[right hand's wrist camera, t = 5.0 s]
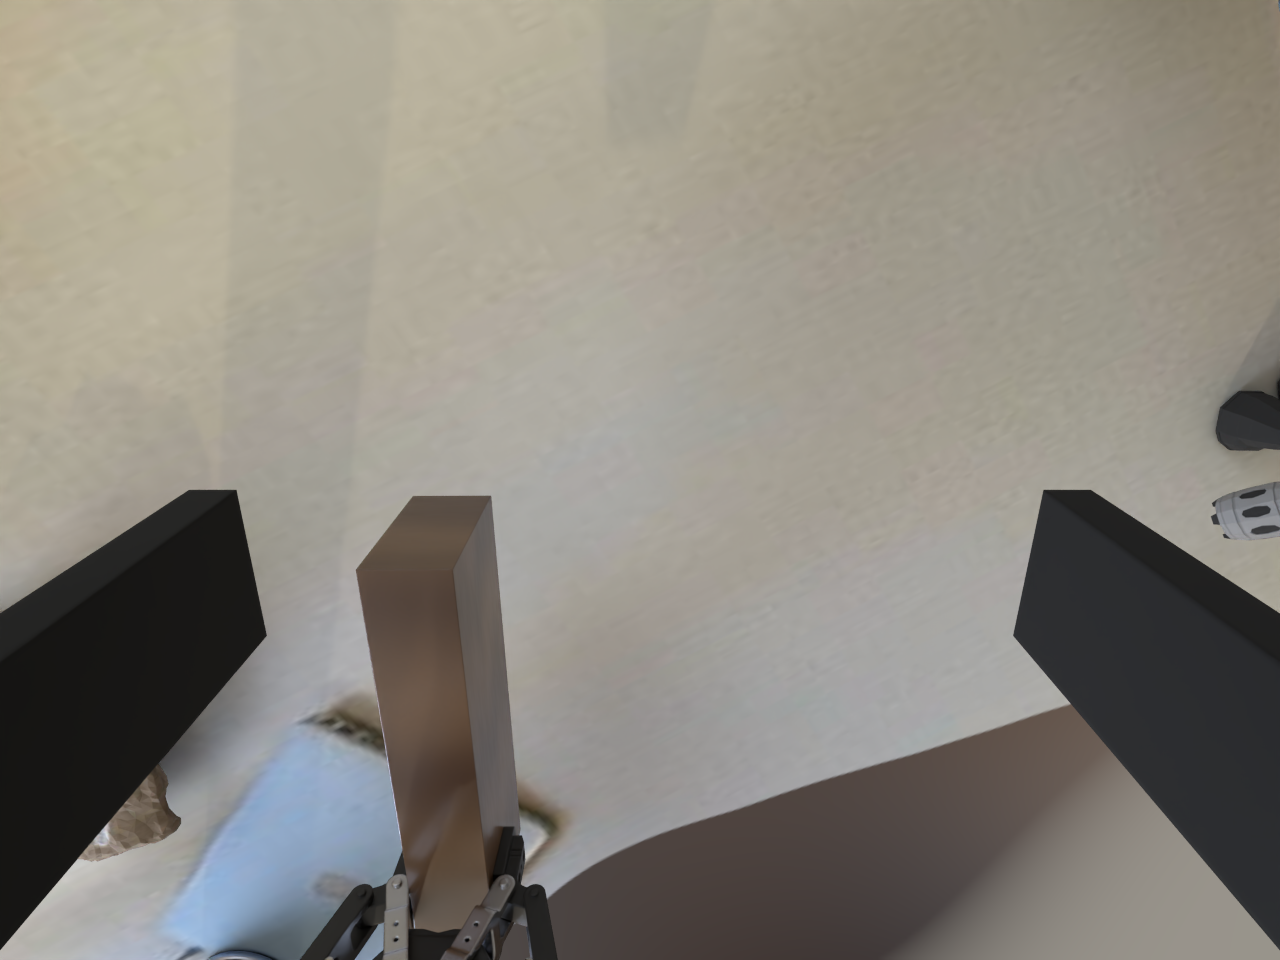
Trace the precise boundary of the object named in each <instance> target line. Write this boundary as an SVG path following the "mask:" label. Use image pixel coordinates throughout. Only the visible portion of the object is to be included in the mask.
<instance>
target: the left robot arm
mask: <svg viewBox="0 0 1280 960" xmlns="http://www.w3.org/2000/svg"><path fill="white" fill-rule="evenodd" d="M524 864H525V850H524V841H523V838H522V835H516V830H515V826H504V828H503V831H502V836H501V840H500V845H499V849H498V853H497V858H496V862H495V866H494V871H493V881H494V883H493V884H492V886H491V888H490V890H489V891H488V893H487V895H486V896H485V898H484V900H483V901H482V903H481V905H480V906H479V905H476V906H475V907H474V908H473V910H472V912H471V913H470V915H469V917H468V918H467V920H466V922H465V923H464V925H463V927H462V929H452V930H447V931H443V932H433V931H430V930H426V929H414V918H413V911H412V905H411V899H410V893H409V887H408V881H407V875H406V869H405V863H404V857H403V851H402V853H401V856H400V858H399V861H398V864H397V866H396V869H395V872H394V874H393V877H391V878H390V879H389V880H388V882H387V883H386V884H384V885H382V886H379V887H376V888H372V887H371V886H370V885H368V884H362V885H359V886H357V887H355V888H354V889H353V890H352V891H351V893H350V894H349V895H348V897H347V898H346V899H345V901H344V902H343V903H342V905H341V906H340V907H339V909H338V910H337V911H336V913H335V914H334V915H333V917H332V918H331V919H330V921H329V922H328V923H327V925H326V926H325V927H324V929H323V930H322V931H321V933H320V934H319V935H318V936H317V938H316V939H315V940H314V942H313V943H312V944H311V946H310V947H309V948H308V950H307V951H306V952H305V954H304V955H303V956H302V958H301V959H300V960H355V958H356V957H357V955H358V954H359V952H360V951H361V949H362V948H363V947H364V945H365V944H366V942H367V941H368V939H369V938H370V936H371V935H372V933H373V932H374V930H375V929H376V928H377V926H378V924H380V923H384V950H383V951H381V952H380V953H379V954H378V955H377V956H376V957H375V958H374V959H373V960H499V958H500V955H501V952H502V946H503V943H504V941H505V939H506V937H507V935H508V933H509V931H510V930H511V928H512V926H513V924H514V922H515V923H518V924H520V925H523V926H526V930H527V937H528V943H529V950H530V957H529V958H526V959H525V960H558V959H557V953H556V948H555V942H554V937H553V931H552V926H551V920H550V915H549V909H548V904H547V898H546V893H545V889H544V888H543V887H542V886H541V885H538V884H533V885H530V886H529V887H524V886H522V885H521V880H522V875H523V869H524ZM208 960H272V959H270V958H268V957H266V956H263V955H260V954H257V953H252V952H246V951H229V952H223V953H220V954H217V955H215V956H213V957H211V958H209V959H208Z"/></svg>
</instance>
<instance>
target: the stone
mask: <svg viewBox="0 0 1280 960" xmlns="http://www.w3.org/2000/svg"><path fill="white" fill-rule="evenodd" d="M167 786H168V780H167V776H166V774H165V773H164V771H163V770H162V768H161V767H160V766H159V764H158V765H157V766H156V767H155V768H154V769H153V770H152V772H151V773H150V774H149V775H148V776H147V778H146V779H145V780H144V781H143V782H142V783H141V785H140V786H139V787H138V788H137V789H136V790H135V792H134V793H133V794H132V795H131V796H130V798H129V799H128V800H127V801H126V802H125V803H124V805H123V806H122V807H121V808H120V809H119V811H118V812H117V813H116V814H115V815H114V816H113V818H112V819H111V820H110V821H109V822H108V824H107V825H106V826H105V827H104V828H103V829H102V831H101V832H100V833H99V834H98V835H97V836H96V838H95V839H94V840H93V841H92V842H91V844H90V845H89V846H88V847H87V848H86V849H85V851H84V852H83V853H82V854H81V855H80V857H79V858H78V859H83V860H88V861H94V860H95V861H100V860H103V859H106V858H109V857H111V856H115V855H119V854H121V853H123V852H125V851H128V850H131V849H134V848H138V847H142V846H144V845H147V844H150V843H156V842H159V841H161V840H163V839H165V838H166V837H168V836H169V835H170V834H172V833H174V832H175V831H176V830H177V829H178V827H179V826H180V824H181V818H180V817H178V816H176V815H175V814H174V813H173V812H172V811H171V810H170V809H169V807H168V804H167V801H166V798H165V795H166V788H167Z"/></svg>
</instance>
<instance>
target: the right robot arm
mask: <svg viewBox="0 0 1280 960" xmlns="http://www.w3.org/2000/svg"><path fill="white" fill-rule="evenodd" d="M1279 10H1280V0H1279ZM266 636H267V635H266V630H265V625H264V620H263V615H262V611H261V606H260V601H259V596H258V591H257V587H256V582H255V577H254V572H253V567H252V563H251V558H250V553H249V548H248V543H247V539H246V534H245V529H244V524H243V519H242V515H241V510H240V505H239V500H238V496H237V491H236V490H188V491H187V492H185V493H184V494H182V495H181V496H179V497H178V498H176V499H175V500H173V501H172V502H170V503H169V504H167V505H165V506H164V507H162V508H161V509H159V510H158V511H156V512H155V513H153V514H152V515H150V516H149V517H147V518H146V519H144V520H143V521H141V522H139V523H138V524H136V525H135V526H133V527H132V528H130V529H129V530H127V531H126V532H124V533H123V534H121V535H120V536H118V537H117V538H115V539H113V540H112V541H110V542H109V543H107V544H106V545H104V546H103V547H101V548H100V549H98V550H97V551H95V552H94V553H92V554H90V555H89V556H87V557H86V558H84V559H83V560H81V561H80V562H78V563H77V564H75V565H74V566H72V567H71V568H69V569H68V570H66V571H64V572H63V573H61V574H60V575H58V576H57V577H55V578H54V579H52V580H51V581H49V582H48V583H46V584H45V585H43V586H42V587H40V588H38V589H37V590H35V591H34V592H32V593H31V594H29V595H28V596H26V597H25V598H23V599H22V600H20V601H19V602H17V603H15V604H14V605H12V606H11V607H9V608H8V609H6V610H5V611H3V612H2V613H0V950H1V949H2V947H3V946H4V945H5V944H6V943H7V941H8V940H9V939H10V938H11V937H12V936H13V934H14V933H15V932H16V931H17V930H18V928H19V927H20V926H21V925H22V924H23V923H24V921H25V920H26V919H27V918H28V917H29V916H30V914H31V913H32V912H33V911H34V910H35V908H36V907H37V906H38V905H39V904H40V903H41V901H42V900H43V899H44V898H45V897H46V895H47V894H48V893H49V892H50V891H51V890H52V888H53V887H54V886H55V885H56V884H57V882H58V881H59V880H60V879H61V878H62V877H63V875H64V874H65V873H66V872H67V871H68V870H69V868H70V867H71V866H72V865H73V864H74V862H75V861H76V860H77V859H78V858H79V857H80V855H81V854H82V853H83V852H84V851H85V849H86V848H87V847H88V846H89V845H90V844H91V842H92V841H93V840H94V839H95V838H96V836H97V835H98V834H99V833H100V832H101V831H102V829H103V828H104V827H105V826H106V825H107V824H108V822H109V821H110V820H111V819H112V818H113V816H114V815H115V814H116V813H117V812H118V811H119V809H120V808H121V807H122V806H123V805H124V803H125V802H126V801H127V800H128V799H129V798H130V796H131V795H132V794H133V793H134V792H135V790H136V789H137V788H138V787H139V786H140V785H141V783H142V782H143V781H144V780H145V779H146V778H147V776H148V775H149V774H150V773H151V772H152V770H153V769H154V768H155V767H156V766H157V765H158V763H159V762H160V761H161V760H162V759H163V757H164V756H165V755H166V754H167V753H168V752H169V750H170V749H171V748H172V747H173V746H174V744H175V743H176V742H177V741H178V740H179V739H180V737H181V736H182V735H183V734H184V733H185V732H186V730H187V729H188V728H189V727H190V726H191V724H192V723H193V722H194V721H195V720H196V719H197V717H198V716H199V715H200V714H201V713H202V711H203V710H204V709H205V708H206V707H207V706H208V704H209V703H210V702H211V701H212V700H213V698H214V697H215V696H216V695H217V694H218V693H219V691H220V690H221V689H222V688H223V687H224V686H225V684H226V683H227V682H228V681H229V680H230V678H231V677H232V676H233V675H234V674H235V673H236V671H237V670H238V669H239V668H240V667H241V665H242V664H243V663H244V662H245V661H246V660H247V658H248V657H249V656H250V655H251V654H252V652H253V651H254V650H255V649H256V648H257V647H258V645H259V644H260V643H261V642H262V641H263V640H264V638H265V637H266ZM1013 636H1014V637H1015V638H1016V640H1017V641H1018V642H1019V643H1020V644H1021V645H1022V647H1023V648H1024V649H1025V650H1026V651H1027V652H1028V654H1029V655H1030V656H1031V657H1032V658H1033V660H1034V661H1035V662H1036V663H1037V664H1038V665H1039V667H1040V668H1041V669H1042V670H1043V671H1044V673H1045V674H1046V675H1047V676H1048V677H1049V678H1050V680H1051V681H1052V682H1053V683H1054V684H1055V686H1056V687H1057V688H1058V689H1059V690H1060V691H1061V693H1062V694H1063V695H1064V696H1065V697H1066V698H1067V700H1068V701H1069V702H1070V703H1071V704H1072V706H1073V707H1074V708H1075V709H1076V710H1077V711H1078V713H1079V714H1080V715H1081V716H1082V717H1083V719H1084V720H1085V721H1086V722H1087V723H1088V724H1089V726H1090V727H1091V728H1092V729H1093V730H1094V732H1095V733H1096V734H1097V735H1098V736H1099V737H1100V739H1101V740H1102V741H1103V742H1104V743H1105V744H1106V746H1107V747H1108V748H1109V749H1110V750H1111V752H1112V753H1113V754H1114V755H1115V756H1116V757H1117V759H1118V760H1119V761H1120V762H1121V763H1122V765H1123V766H1124V767H1125V768H1126V769H1127V770H1128V772H1129V773H1130V774H1131V775H1132V776H1133V778H1134V779H1135V780H1136V781H1137V782H1138V783H1139V785H1140V786H1141V787H1142V788H1143V789H1144V790H1145V792H1146V793H1147V794H1148V795H1149V796H1150V798H1151V799H1152V800H1153V801H1154V802H1155V803H1156V805H1157V806H1158V807H1159V808H1160V809H1161V810H1162V812H1163V813H1164V814H1165V815H1166V816H1167V818H1168V819H1169V820H1170V821H1171V822H1172V823H1173V825H1174V826H1175V827H1176V828H1177V829H1178V831H1179V832H1180V833H1181V834H1182V835H1183V836H1184V838H1185V839H1186V840H1187V841H1188V842H1189V844H1190V845H1191V846H1192V847H1193V848H1194V849H1195V851H1196V852H1197V853H1198V854H1199V855H1200V857H1201V858H1202V859H1203V860H1204V861H1205V862H1206V864H1207V865H1208V866H1209V867H1210V868H1211V870H1212V871H1213V872H1214V873H1215V874H1216V875H1217V877H1218V878H1219V879H1220V880H1221V881H1222V882H1223V884H1224V885H1225V886H1226V887H1227V888H1228V890H1229V891H1230V892H1231V893H1232V894H1233V895H1234V897H1235V898H1236V899H1237V900H1238V901H1239V903H1240V904H1241V905H1242V906H1243V907H1244V908H1245V910H1246V911H1247V912H1248V913H1249V914H1250V916H1251V917H1252V918H1253V919H1254V920H1255V921H1256V923H1257V924H1258V925H1259V926H1260V927H1261V928H1262V930H1263V931H1264V932H1265V933H1266V934H1267V936H1268V937H1269V938H1270V939H1271V940H1272V941H1273V943H1274V944H1275V945H1276V946H1277V947H1278V949H1279V950H1280V613H1278V612H1277V611H1275V610H1274V609H1272V608H1271V607H1269V606H1268V605H1266V604H1264V603H1263V602H1261V601H1260V600H1258V599H1257V598H1255V597H1254V596H1252V595H1251V594H1249V593H1248V592H1246V591H1245V590H1243V589H1242V588H1240V587H1238V586H1237V585H1235V584H1234V583H1232V582H1231V581H1229V580H1228V579H1226V578H1225V577H1223V576H1222V575H1220V574H1219V573H1217V572H1216V571H1214V570H1212V569H1211V568H1209V567H1208V566H1206V565H1205V564H1203V563H1202V562H1200V561H1199V560H1197V559H1196V558H1194V557H1193V556H1191V555H1190V554H1188V553H1186V552H1185V551H1183V550H1182V549H1180V548H1179V547H1177V546H1176V545H1174V544H1173V543H1171V542H1170V541H1168V540H1167V539H1165V538H1163V537H1162V536H1160V535H1159V534H1157V533H1156V532H1154V531H1153V530H1151V529H1150V528H1148V527H1147V526H1145V525H1144V524H1142V523H1141V522H1139V521H1137V520H1136V519H1134V518H1133V517H1131V516H1130V515H1128V514H1127V513H1125V512H1124V511H1122V510H1121V509H1119V508H1118V507H1116V506H1115V505H1113V504H1111V503H1110V502H1108V501H1107V500H1105V499H1104V498H1102V497H1101V496H1099V495H1098V494H1096V493H1095V492H1093V491H1092V490H1044V491H1043V495H1042V500H1041V505H1040V510H1039V515H1038V519H1037V524H1036V529H1035V534H1034V539H1033V543H1032V548H1031V553H1030V558H1029V563H1028V567H1027V572H1026V577H1025V582H1024V587H1023V591H1022V596H1021V601H1020V606H1019V611H1018V615H1017V620H1016V625H1015V630H1014V635H1013Z"/></svg>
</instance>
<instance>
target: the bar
mask: <svg viewBox="0 0 1280 960" xmlns="http://www.w3.org/2000/svg"><path fill="white" fill-rule="evenodd" d="M356 574H357V580H358V586H359V592H360V598H361V604H362V610H363V616H364V622H365V628H366V634H367V640H368V646H369V652H370V658H371V664H372V670H373V676H374V682H375V688H376V694H377V700H378V706H379V712H380V718H381V724H382V731H383V737H384V743H385V749H386V755H387V761H388V767H389V773H390V779H391V785H392V791H393V797H394V803H395V809H396V815H397V821H398V827H399V833H400V839H401V845H402V851H403V857H404V863H405V869H406V875H407V881H408V887H409V893H410V899H411V905H412V911H413V918H414V924H415V929H426V930H430V931H433V932H443V931H447V930H452V929H462V927H463V925H464V923H465V922H466V920H467V918H468V917H469V915H470V913H471V912H472V910H473V908H474V907H475V906H476V905H479V906H480V905H481V903H482V901H483V900H484V898H485V896H486V895H487V893H488V891H489V890H490V888H491V886H492V884H493V883H494V881H493V871H494V866H495V862H496V858H497V853H498V849H499V845H500V840H501V836H502V831H503V828H504V826H515V830H516V835H519V834H520V818H519V806H518V795H517V784H516V772H515V761H514V750H513V739H512V727H511V716H510V705H509V693H508V682H507V671H506V659H505V648H504V637H503V625H502V614H501V603H500V591H499V580H498V569H497V557H496V546H495V535H494V523H493V512H492V501H491V496H413V497H412V498H411V499H410V501H409V502H408V503H407V505H406V506H405V507H404V509H403V510H402V511H401V512H400V514H399V515H398V516H397V518H396V519H395V520H394V521H393V523H392V524H391V525H390V527H389V528H388V529H387V530H386V532H385V533H384V534H383V536H382V537H381V538H380V539H379V541H378V542H377V543H376V545H375V546H374V547H373V549H372V550H371V551H370V552H369V554H368V555H367V556H366V558H365V559H364V560H363V561H362V563H361V564H360V565H359V567H358V568H357V569H356Z"/></svg>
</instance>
